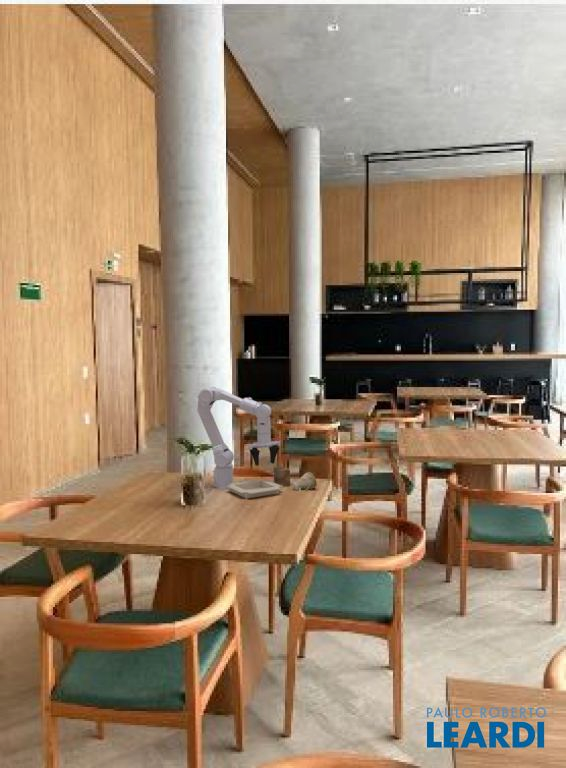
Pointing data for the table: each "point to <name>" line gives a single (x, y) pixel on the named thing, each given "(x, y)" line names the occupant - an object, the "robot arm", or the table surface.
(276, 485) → the off-white shallow square tray
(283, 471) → the box
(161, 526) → the table surface
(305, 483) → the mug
